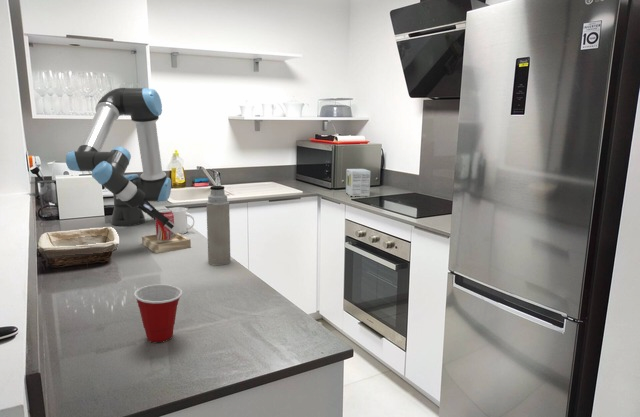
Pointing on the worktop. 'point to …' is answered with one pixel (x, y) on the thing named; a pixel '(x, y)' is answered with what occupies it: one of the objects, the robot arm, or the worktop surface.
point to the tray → (166, 243)
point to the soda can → (163, 231)
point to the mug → (181, 219)
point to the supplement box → (358, 181)
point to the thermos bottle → (218, 226)
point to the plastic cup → (158, 310)
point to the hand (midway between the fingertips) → (173, 229)
